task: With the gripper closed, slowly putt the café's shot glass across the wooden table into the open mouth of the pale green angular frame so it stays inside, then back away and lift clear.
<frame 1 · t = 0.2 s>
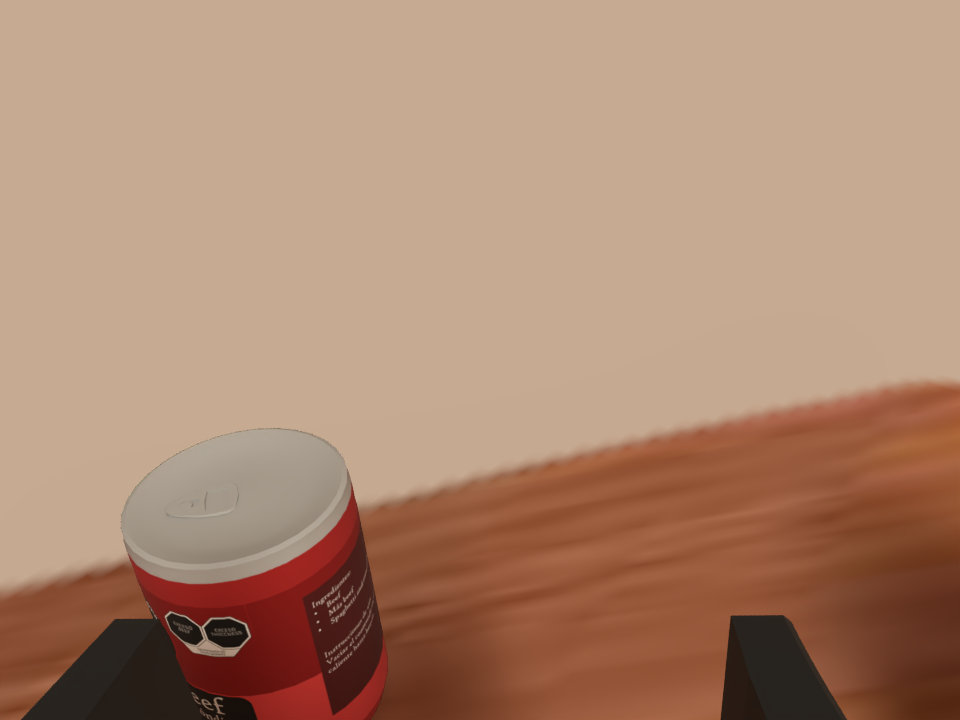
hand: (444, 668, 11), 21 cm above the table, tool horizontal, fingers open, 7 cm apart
canned food: (297, 695, 37), on the table
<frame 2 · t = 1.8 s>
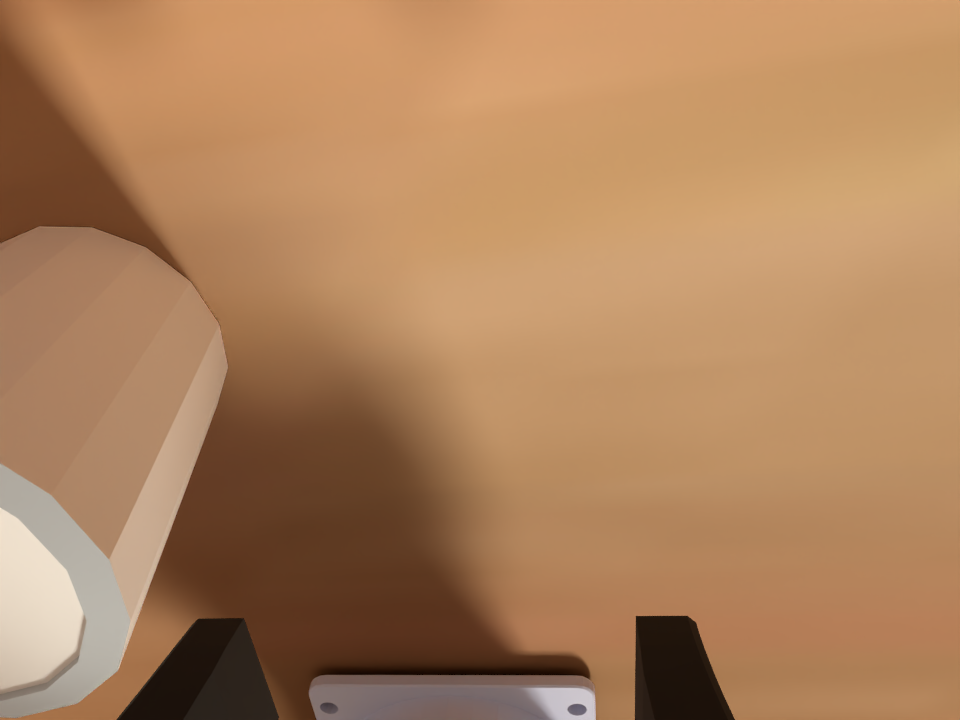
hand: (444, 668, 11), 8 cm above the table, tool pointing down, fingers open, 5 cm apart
shot glass: (104, 337, 19), on the table
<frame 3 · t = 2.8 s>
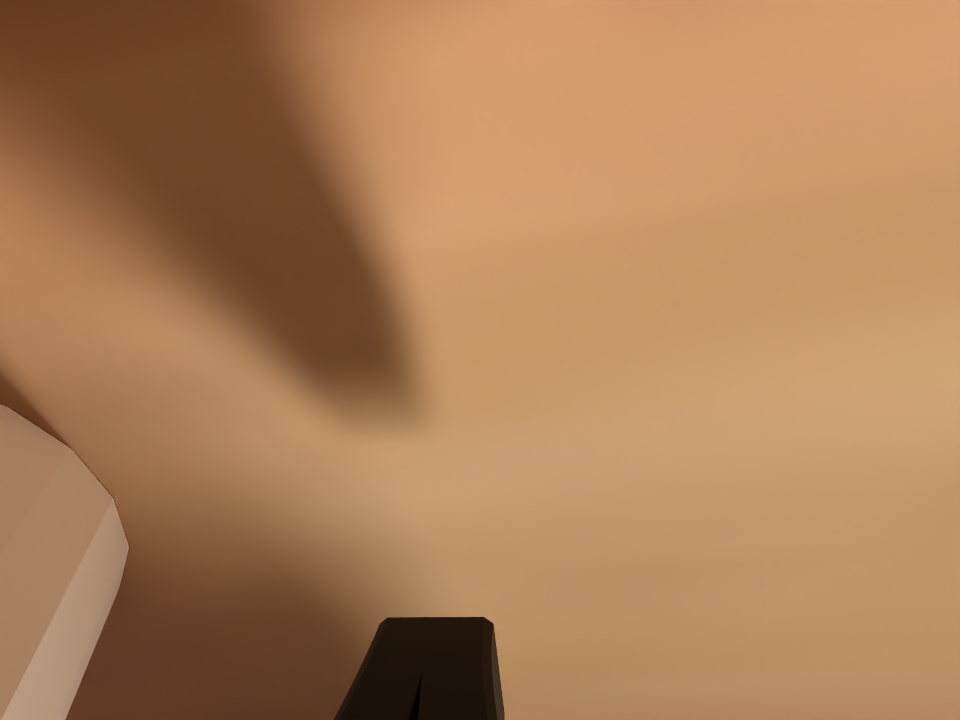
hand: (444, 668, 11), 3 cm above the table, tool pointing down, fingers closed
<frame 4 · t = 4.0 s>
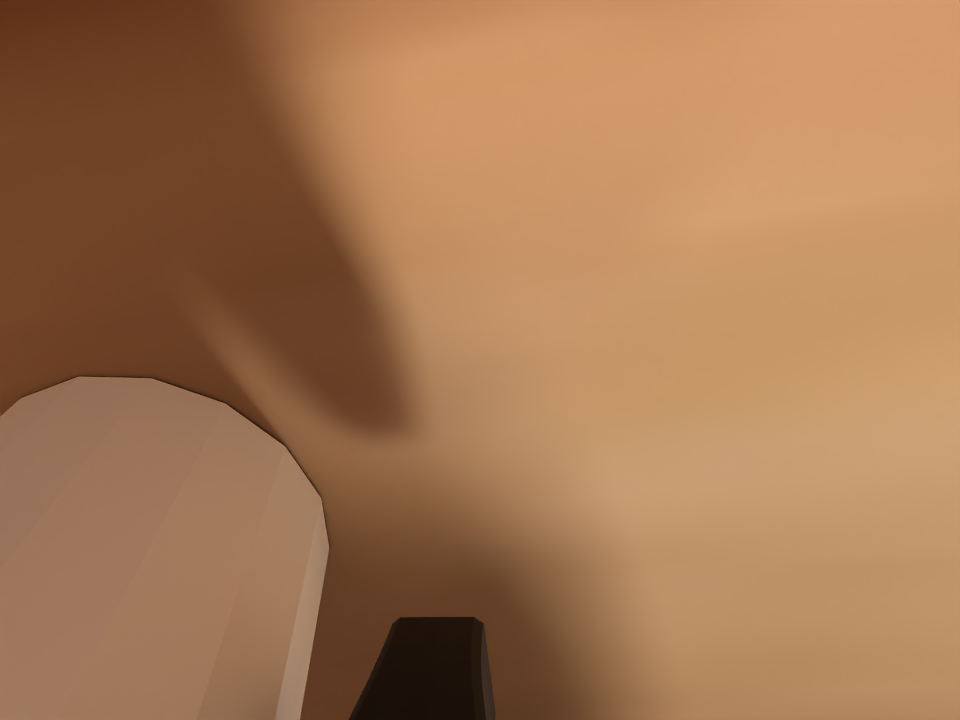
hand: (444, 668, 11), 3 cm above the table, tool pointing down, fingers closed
shot glass: (162, 509, 14), on the table, touching gripper
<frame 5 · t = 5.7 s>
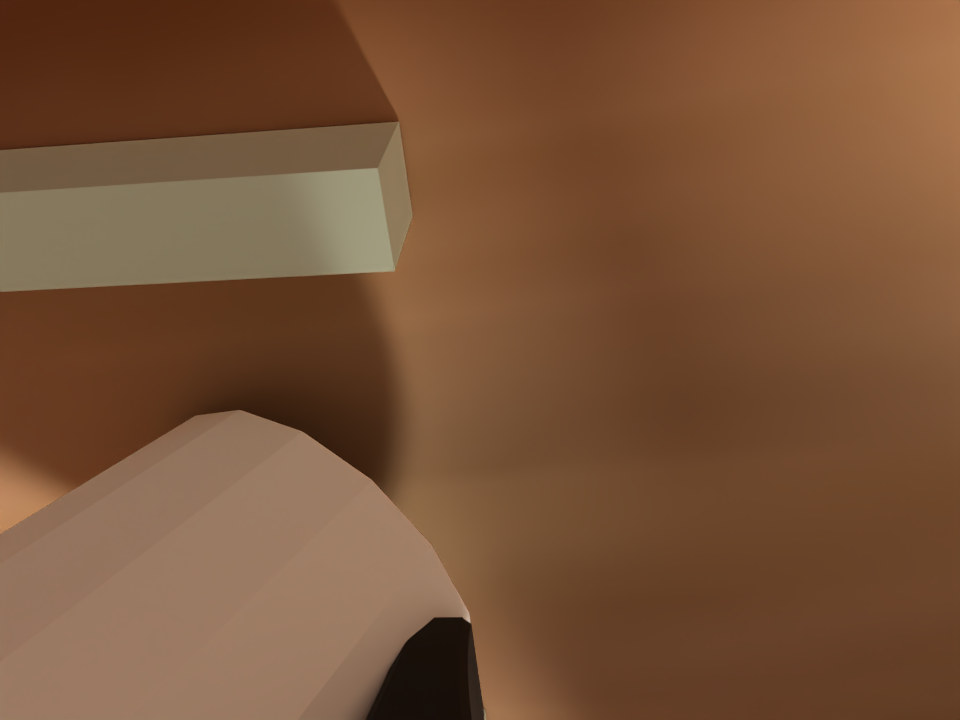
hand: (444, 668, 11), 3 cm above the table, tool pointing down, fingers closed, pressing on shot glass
pale green angular frame: (116, 518, 14), on the table
shot glass: (322, 561, 13), point 1 cm above the table, touching gripper
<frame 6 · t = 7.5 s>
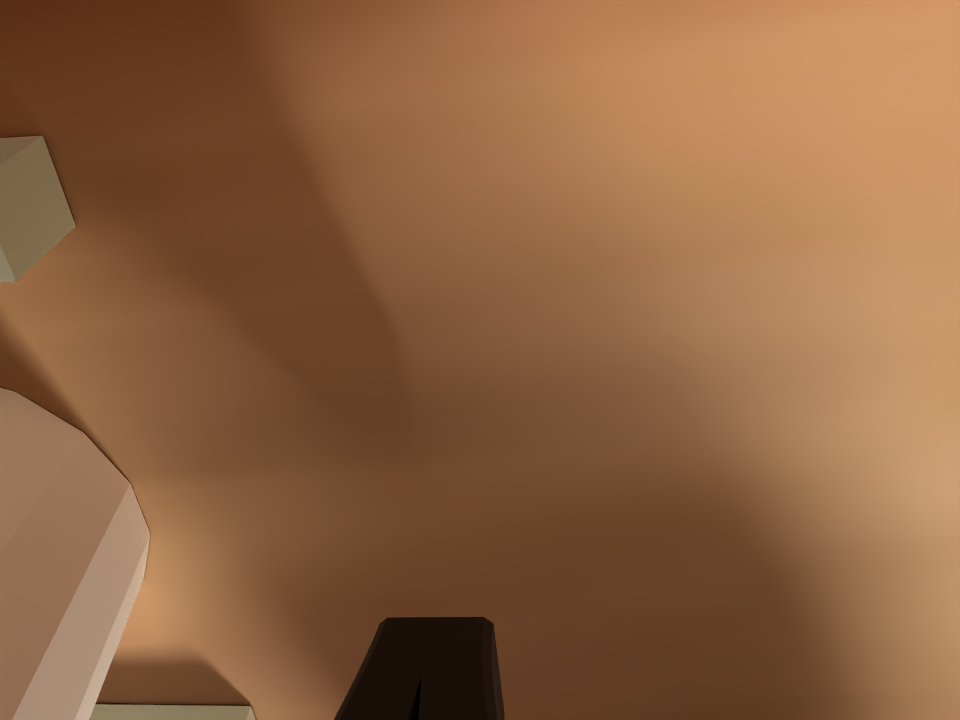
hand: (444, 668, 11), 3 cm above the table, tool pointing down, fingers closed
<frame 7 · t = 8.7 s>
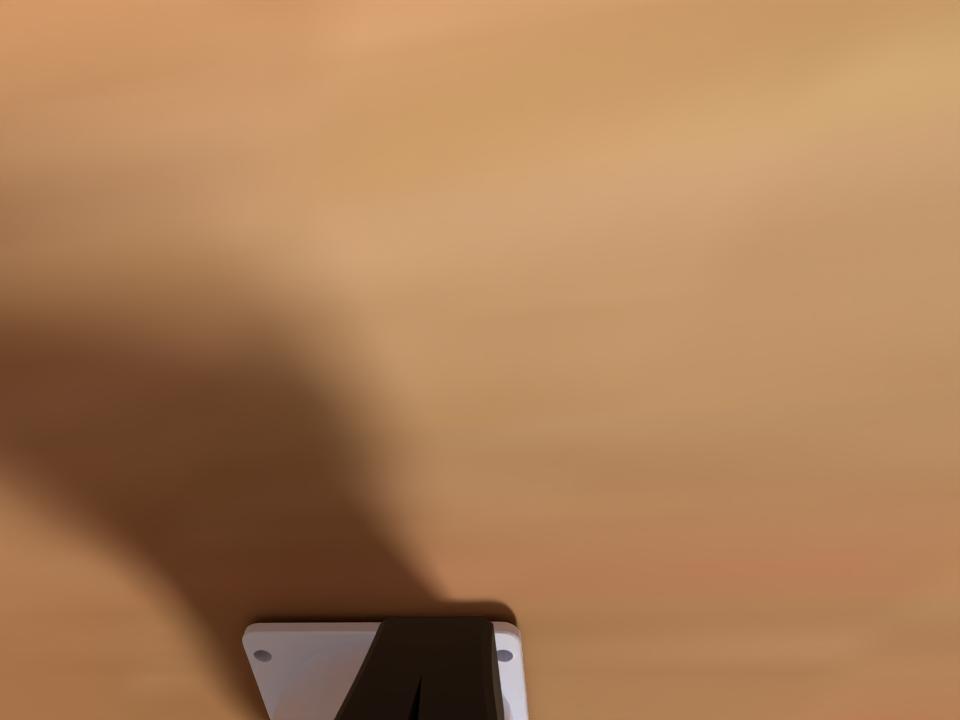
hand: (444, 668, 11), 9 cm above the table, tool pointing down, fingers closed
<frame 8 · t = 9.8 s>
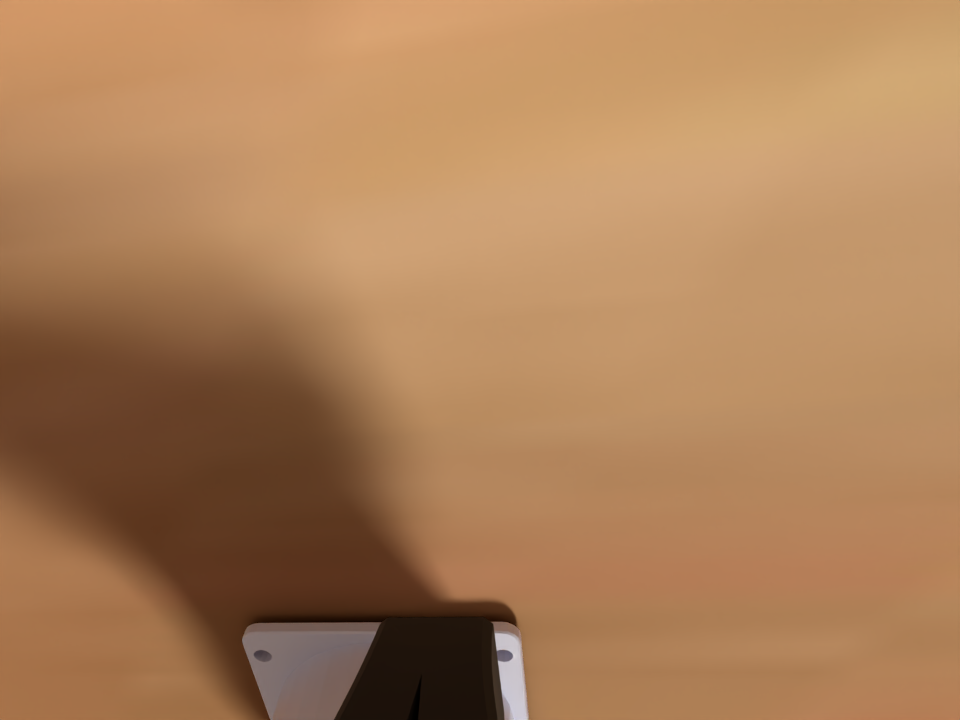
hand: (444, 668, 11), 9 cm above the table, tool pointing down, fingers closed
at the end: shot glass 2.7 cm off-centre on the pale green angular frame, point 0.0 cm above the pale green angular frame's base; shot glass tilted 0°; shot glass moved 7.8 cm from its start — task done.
